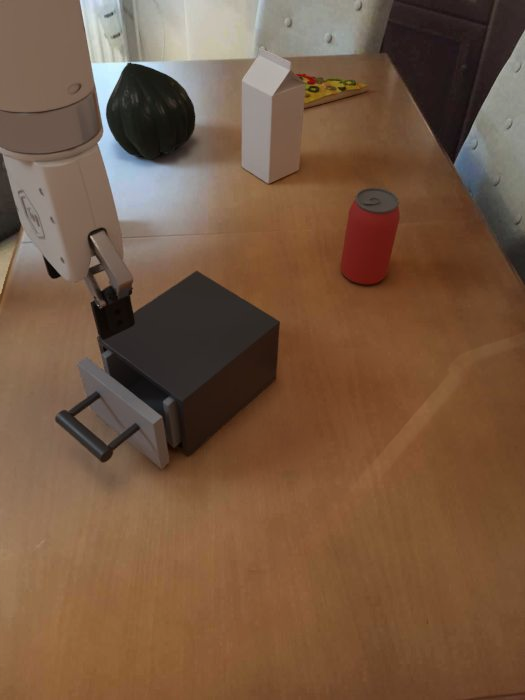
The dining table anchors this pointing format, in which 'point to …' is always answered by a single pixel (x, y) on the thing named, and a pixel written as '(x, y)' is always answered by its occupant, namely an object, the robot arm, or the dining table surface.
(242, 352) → the cabinet
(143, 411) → the drawer
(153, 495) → the dining table surface
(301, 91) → the milk carton
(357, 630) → the dining table surface
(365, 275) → the beer can
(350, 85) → the pizza slice
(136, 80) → the squash
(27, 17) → the robot arm
